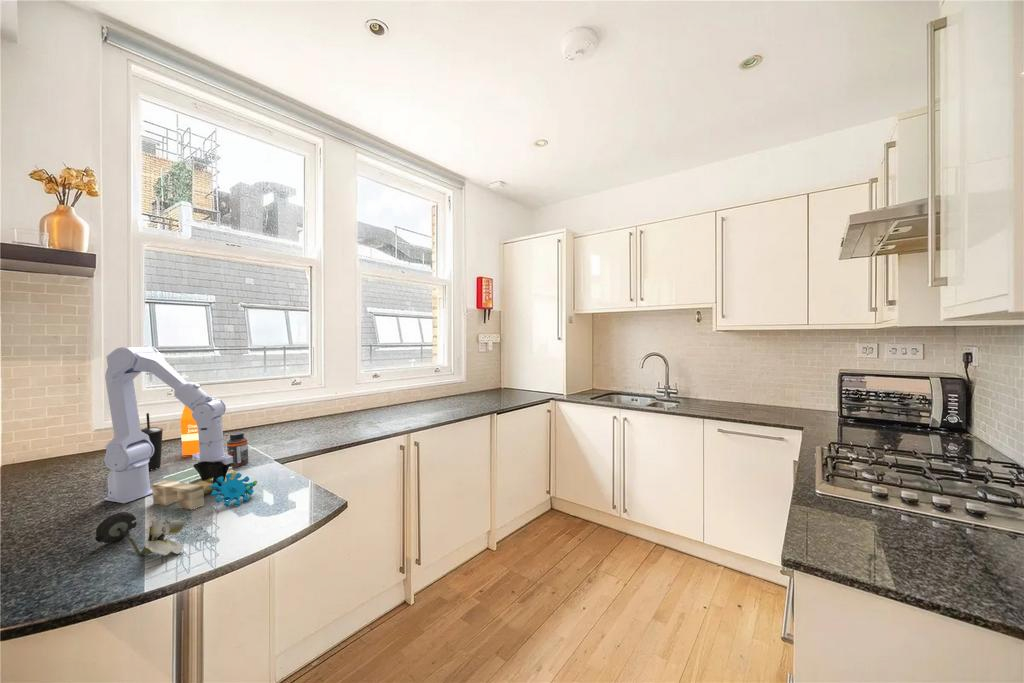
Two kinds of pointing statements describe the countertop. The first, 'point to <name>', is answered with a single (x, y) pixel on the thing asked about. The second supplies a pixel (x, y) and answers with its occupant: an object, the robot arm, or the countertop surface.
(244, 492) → the gear
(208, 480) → the axle
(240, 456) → the supplement bottle
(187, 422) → the orange juice
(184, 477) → the pale green slotted tray
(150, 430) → the drinking cup
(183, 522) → the artificial flower
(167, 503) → the beam
